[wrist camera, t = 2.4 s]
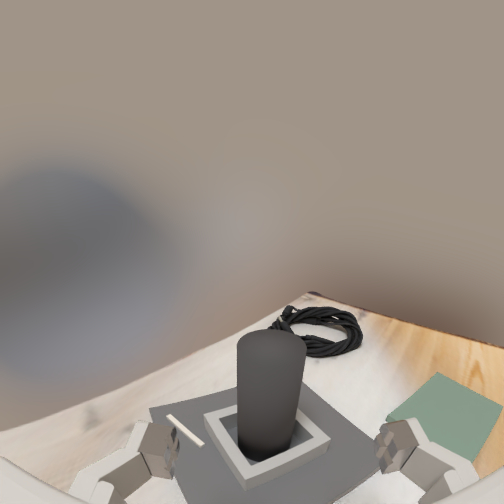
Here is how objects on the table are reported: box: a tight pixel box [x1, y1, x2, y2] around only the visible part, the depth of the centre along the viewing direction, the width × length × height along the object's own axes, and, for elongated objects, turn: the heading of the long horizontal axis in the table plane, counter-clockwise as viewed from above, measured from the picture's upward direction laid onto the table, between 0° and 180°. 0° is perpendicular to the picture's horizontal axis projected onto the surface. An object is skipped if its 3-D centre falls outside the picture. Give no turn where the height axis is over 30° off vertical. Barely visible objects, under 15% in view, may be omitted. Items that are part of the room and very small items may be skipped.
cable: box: [268, 305, 363, 356], centre depth 49 cm, size 17×14×4 cm
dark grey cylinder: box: [237, 329, 307, 462], centre depth 23 cm, size 6×6×13 cm
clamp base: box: [149, 382, 380, 504], centre depth 25 cm, size 20×20×4 cm
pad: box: [386, 372, 503, 464], centre depth 25 cm, size 14×14×1 cm
